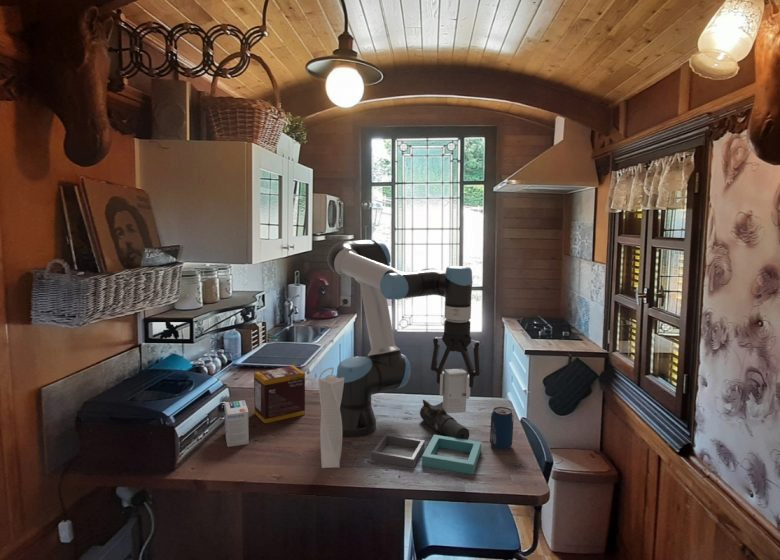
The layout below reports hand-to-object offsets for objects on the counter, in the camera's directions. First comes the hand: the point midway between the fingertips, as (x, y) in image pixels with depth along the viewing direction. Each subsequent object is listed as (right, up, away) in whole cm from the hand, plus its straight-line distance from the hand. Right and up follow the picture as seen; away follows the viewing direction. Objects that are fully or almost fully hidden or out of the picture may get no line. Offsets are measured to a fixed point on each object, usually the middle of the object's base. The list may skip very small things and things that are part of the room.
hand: (454, 395), depth 154 cm
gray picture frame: (-17, -19, +5) cm, 26 cm away
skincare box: (0, -5, +1) cm, 5 cm away
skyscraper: (-36, -20, -1) cm, 41 cm away
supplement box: (-59, -14, +33) cm, 69 cm away
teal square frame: (0, -20, +3) cm, 20 cm away
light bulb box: (-68, -17, +13) cm, 72 cm away
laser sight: (-1, -17, +22) cm, 28 cm away
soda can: (+16, -19, +11) cm, 27 cm away
